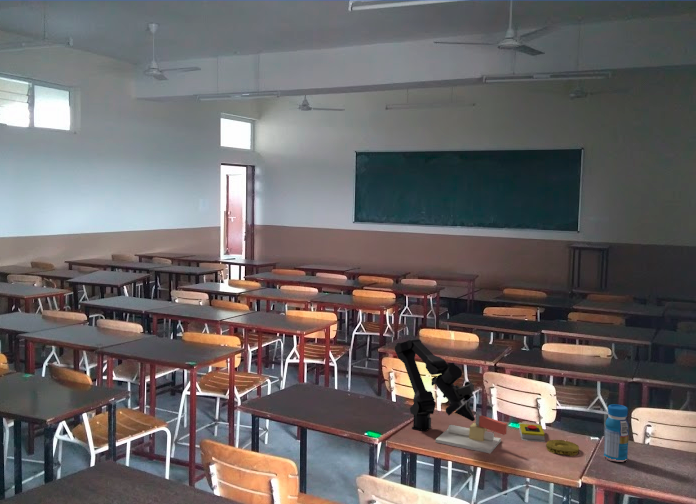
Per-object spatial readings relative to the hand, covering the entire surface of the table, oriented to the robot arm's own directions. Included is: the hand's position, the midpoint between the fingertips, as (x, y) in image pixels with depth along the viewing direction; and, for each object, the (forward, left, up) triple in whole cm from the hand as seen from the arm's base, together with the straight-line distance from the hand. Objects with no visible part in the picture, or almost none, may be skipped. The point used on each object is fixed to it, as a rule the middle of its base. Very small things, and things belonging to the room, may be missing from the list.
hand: (474, 420), depth 244 cm
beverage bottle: (+50, +15, -10) cm, 53 cm away
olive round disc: (+31, +14, -11) cm, 36 cm away
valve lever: (+5, +4, -4) cm, 8 cm away
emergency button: (+17, +25, -11) cm, 32 cm away
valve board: (-3, +3, -10) cm, 11 cm away
